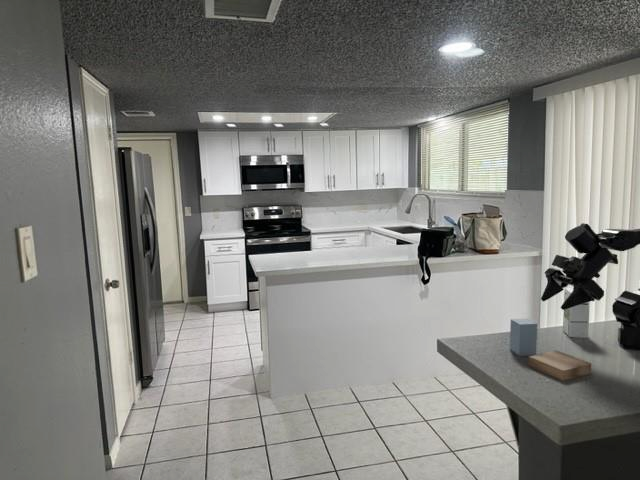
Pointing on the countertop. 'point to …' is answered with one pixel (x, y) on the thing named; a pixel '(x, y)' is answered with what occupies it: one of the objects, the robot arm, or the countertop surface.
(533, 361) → the walnut block
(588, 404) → the countertop surface
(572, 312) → the syrup box
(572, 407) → the countertop surface
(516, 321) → the slate block
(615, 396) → the countertop surface
